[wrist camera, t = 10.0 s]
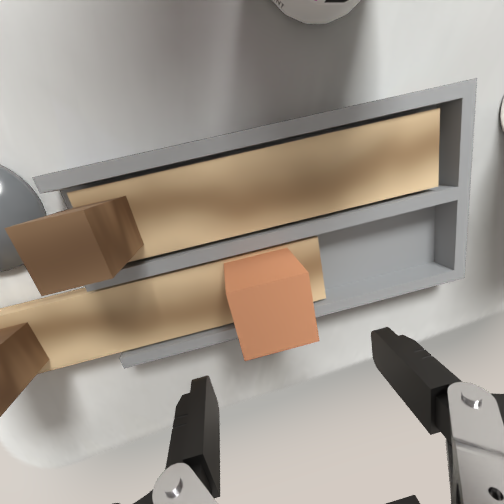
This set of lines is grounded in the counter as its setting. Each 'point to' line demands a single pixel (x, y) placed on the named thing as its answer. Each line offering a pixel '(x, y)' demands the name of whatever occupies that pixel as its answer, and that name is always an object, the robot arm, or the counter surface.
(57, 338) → the oak strip
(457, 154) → the lane frame
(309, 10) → the supplement can
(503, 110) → the beer glass
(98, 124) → the counter surface
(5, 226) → the slate coaster
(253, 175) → the oak strip
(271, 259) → the rust cube
